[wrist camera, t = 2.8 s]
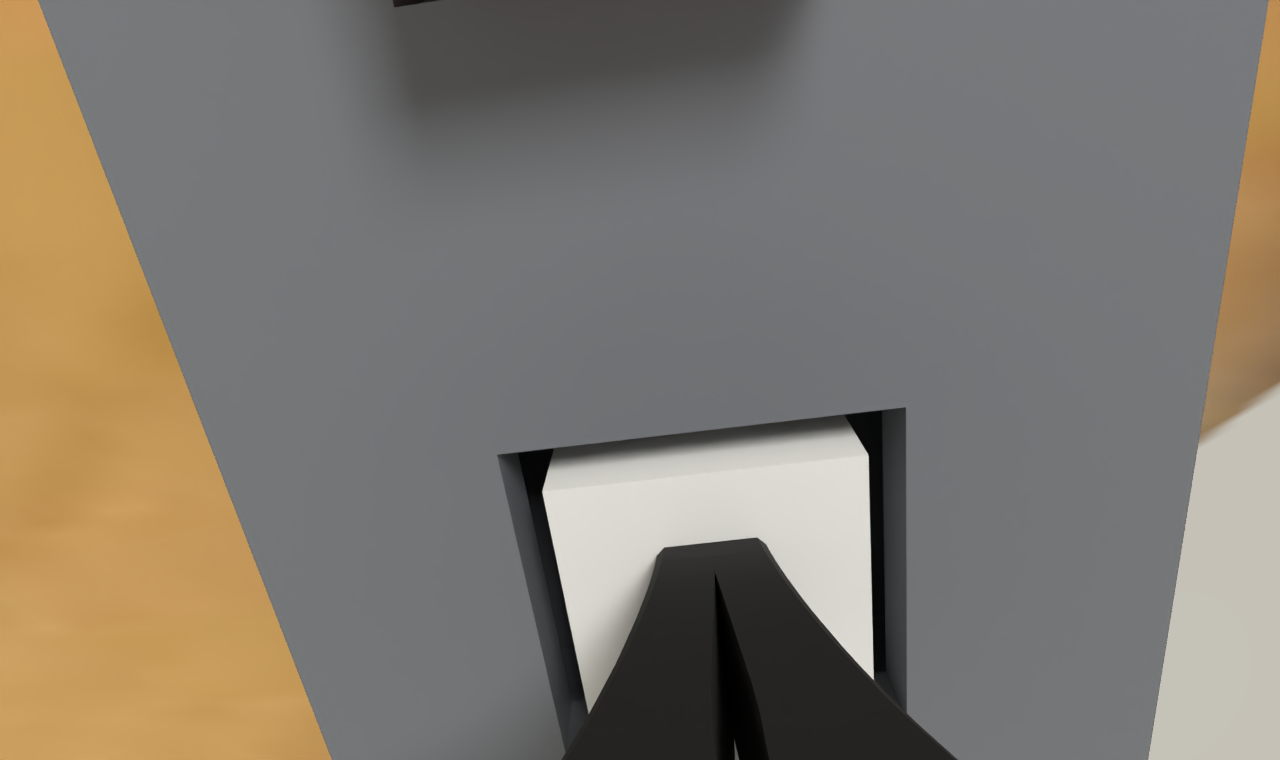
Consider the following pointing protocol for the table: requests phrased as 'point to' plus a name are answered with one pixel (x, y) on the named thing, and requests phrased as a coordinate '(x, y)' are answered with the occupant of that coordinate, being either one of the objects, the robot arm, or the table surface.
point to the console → (688, 316)
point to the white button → (711, 523)
